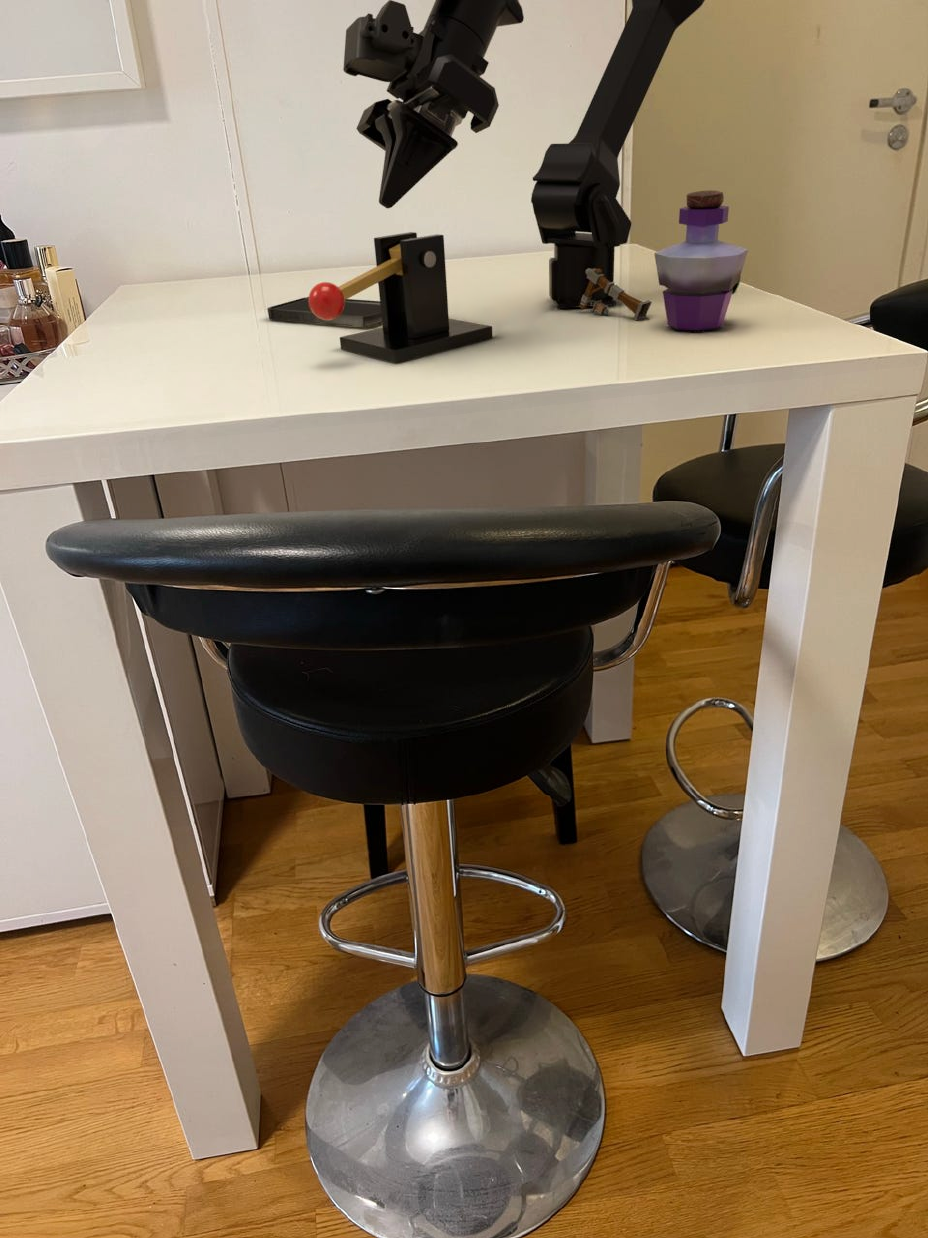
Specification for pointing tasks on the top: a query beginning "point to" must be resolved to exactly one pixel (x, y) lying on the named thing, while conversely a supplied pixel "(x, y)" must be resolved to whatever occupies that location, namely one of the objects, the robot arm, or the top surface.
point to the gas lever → (351, 287)
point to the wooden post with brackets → (615, 291)
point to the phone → (352, 316)
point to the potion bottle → (700, 267)
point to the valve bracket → (414, 305)
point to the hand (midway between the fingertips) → (384, 205)
